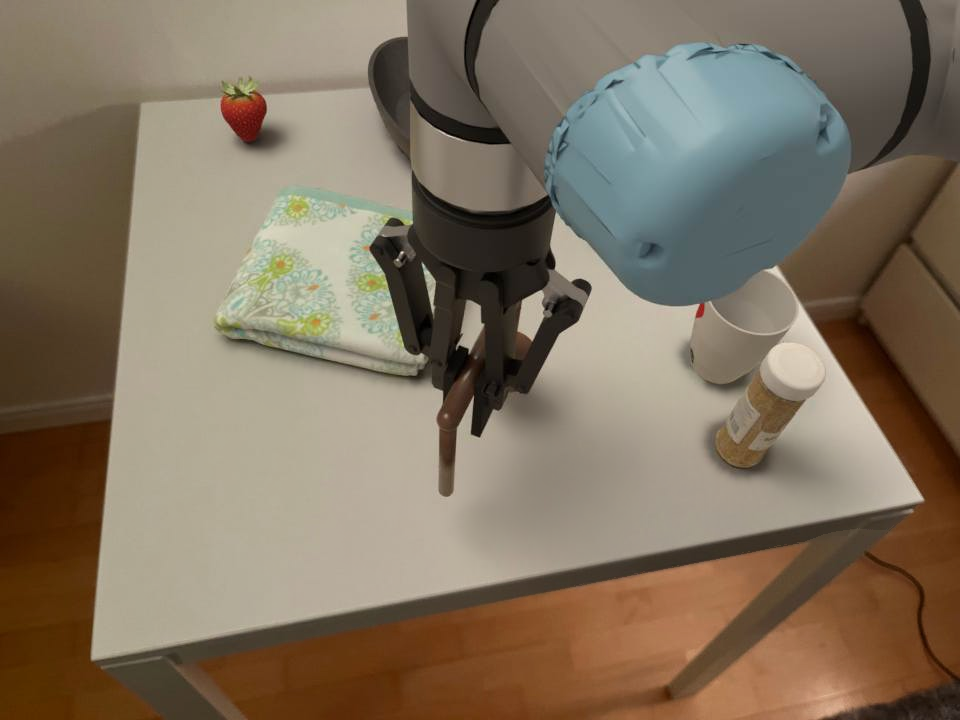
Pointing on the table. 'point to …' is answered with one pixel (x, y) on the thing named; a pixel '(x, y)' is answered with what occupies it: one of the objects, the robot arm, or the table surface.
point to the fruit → (243, 108)
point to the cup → (741, 328)
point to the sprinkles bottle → (770, 403)
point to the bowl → (392, 88)
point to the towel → (320, 283)
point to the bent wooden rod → (465, 404)
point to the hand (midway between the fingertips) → (468, 416)
